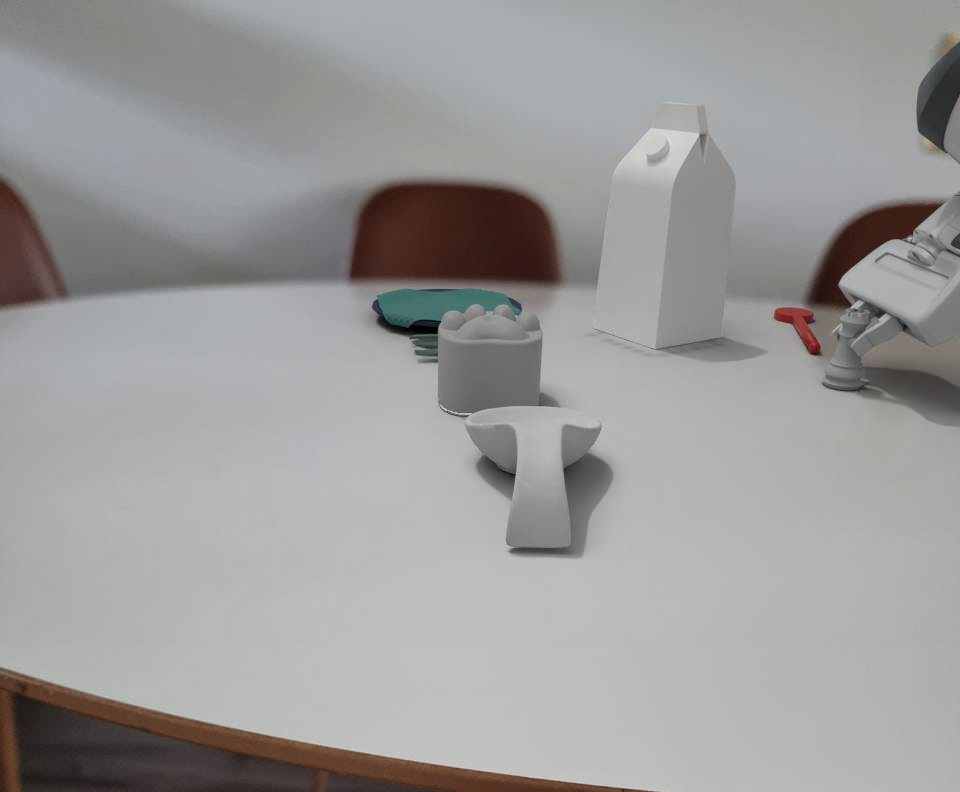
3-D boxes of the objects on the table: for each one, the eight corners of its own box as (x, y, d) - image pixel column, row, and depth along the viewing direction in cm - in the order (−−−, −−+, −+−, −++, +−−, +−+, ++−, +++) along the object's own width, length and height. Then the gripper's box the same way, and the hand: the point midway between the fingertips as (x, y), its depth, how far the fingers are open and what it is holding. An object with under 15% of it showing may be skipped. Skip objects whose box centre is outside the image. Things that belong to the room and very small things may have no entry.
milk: (721, 337, 125) (756, 106, 111) (654, 349, 119) (683, 107, 105) (656, 317, 133) (681, 100, 119) (591, 327, 127) (610, 101, 114)
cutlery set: (506, 301, 139) (506, 284, 138) (554, 358, 114) (556, 339, 113) (366, 303, 136) (366, 286, 135) (385, 363, 111) (384, 342, 110)
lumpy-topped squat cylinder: (437, 415, 96) (437, 326, 91) (438, 377, 107) (438, 295, 102) (543, 417, 96) (548, 327, 92) (532, 378, 107) (536, 297, 103)
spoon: (771, 313, 137) (773, 303, 136) (809, 315, 136) (811, 305, 135) (792, 353, 119) (794, 342, 118) (836, 356, 118) (838, 344, 117)
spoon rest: (464, 438, 91) (465, 361, 87) (591, 441, 91) (597, 364, 87) (461, 551, 70) (462, 457, 67) (623, 554, 70) (633, 460, 67)
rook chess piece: (814, 379, 110) (829, 306, 105) (852, 379, 110) (868, 306, 106) (829, 391, 106) (845, 315, 102) (869, 391, 106) (886, 315, 102)
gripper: (893, 211, 109) (792, 302, 113) (994, 244, 91) (870, 349, 96) (921, 254, 112) (821, 341, 116) (1024, 293, 94) (902, 393, 98)
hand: (844, 345), depth 105 cm, fingers closed on rook chess piece, 3 cm apart
